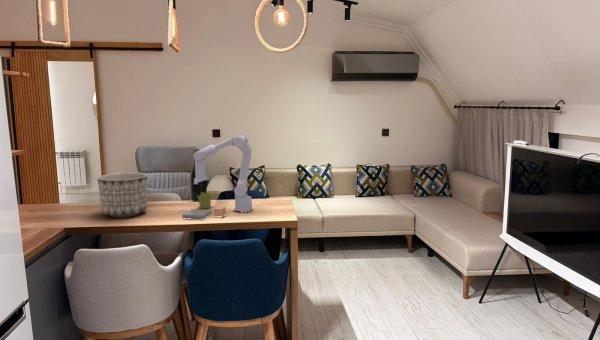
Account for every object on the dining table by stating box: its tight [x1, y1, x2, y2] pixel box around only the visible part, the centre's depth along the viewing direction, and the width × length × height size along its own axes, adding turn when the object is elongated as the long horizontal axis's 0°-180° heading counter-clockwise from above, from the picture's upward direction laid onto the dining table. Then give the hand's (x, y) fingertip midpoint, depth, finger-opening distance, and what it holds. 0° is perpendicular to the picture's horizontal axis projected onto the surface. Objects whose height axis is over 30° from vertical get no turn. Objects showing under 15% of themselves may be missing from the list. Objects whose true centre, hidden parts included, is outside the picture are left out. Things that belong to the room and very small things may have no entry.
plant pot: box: [196, 191, 213, 210], centre depth 265 cm, size 9×9×9 cm
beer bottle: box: [189, 148, 208, 202], centre depth 283 cm, size 10×10×33 cm
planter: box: [97, 172, 148, 218], centre depth 249 cm, size 26×26×22 cm
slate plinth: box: [182, 208, 213, 219], centre depth 245 cm, size 12×12×3 cm
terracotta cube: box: [213, 206, 227, 217], centre depth 246 cm, size 5×5×5 cm
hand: (201, 194), depth 258 cm, fingers open, 7 cm apart
